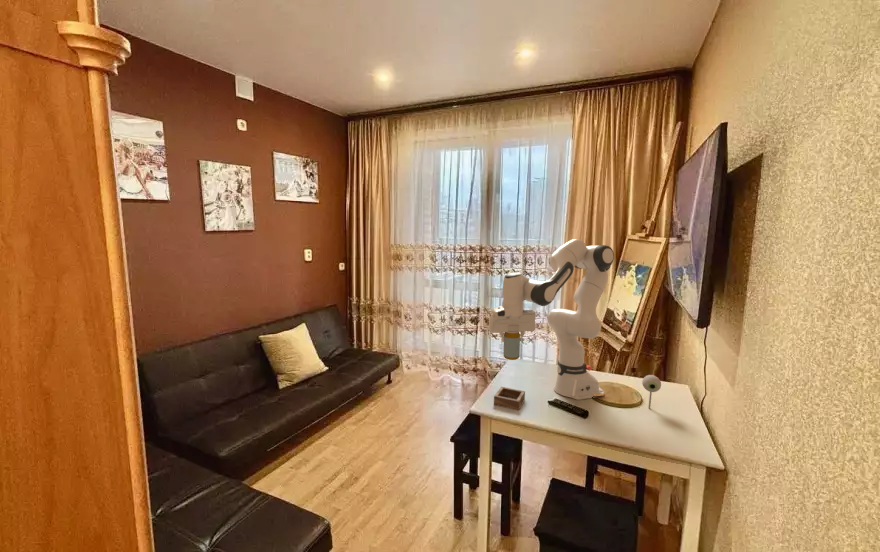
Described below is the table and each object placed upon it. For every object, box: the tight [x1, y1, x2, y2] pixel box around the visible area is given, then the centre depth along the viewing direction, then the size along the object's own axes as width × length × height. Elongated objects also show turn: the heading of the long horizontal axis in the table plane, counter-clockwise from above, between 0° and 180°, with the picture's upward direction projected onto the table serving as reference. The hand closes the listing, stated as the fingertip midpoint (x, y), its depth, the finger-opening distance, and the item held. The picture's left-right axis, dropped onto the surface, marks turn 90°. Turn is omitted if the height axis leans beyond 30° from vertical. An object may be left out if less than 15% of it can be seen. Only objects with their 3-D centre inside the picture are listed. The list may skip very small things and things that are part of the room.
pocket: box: [493, 386, 526, 411], centre depth 170 cm, size 11×11×4 cm
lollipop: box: [641, 374, 662, 410], centre depth 164 cm, size 7×7×15 cm
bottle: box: [502, 325, 521, 361], centre depth 166 cm, size 7×7×15 cm
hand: (511, 341), depth 166 cm, fingers closed on bottle, 6 cm apart
